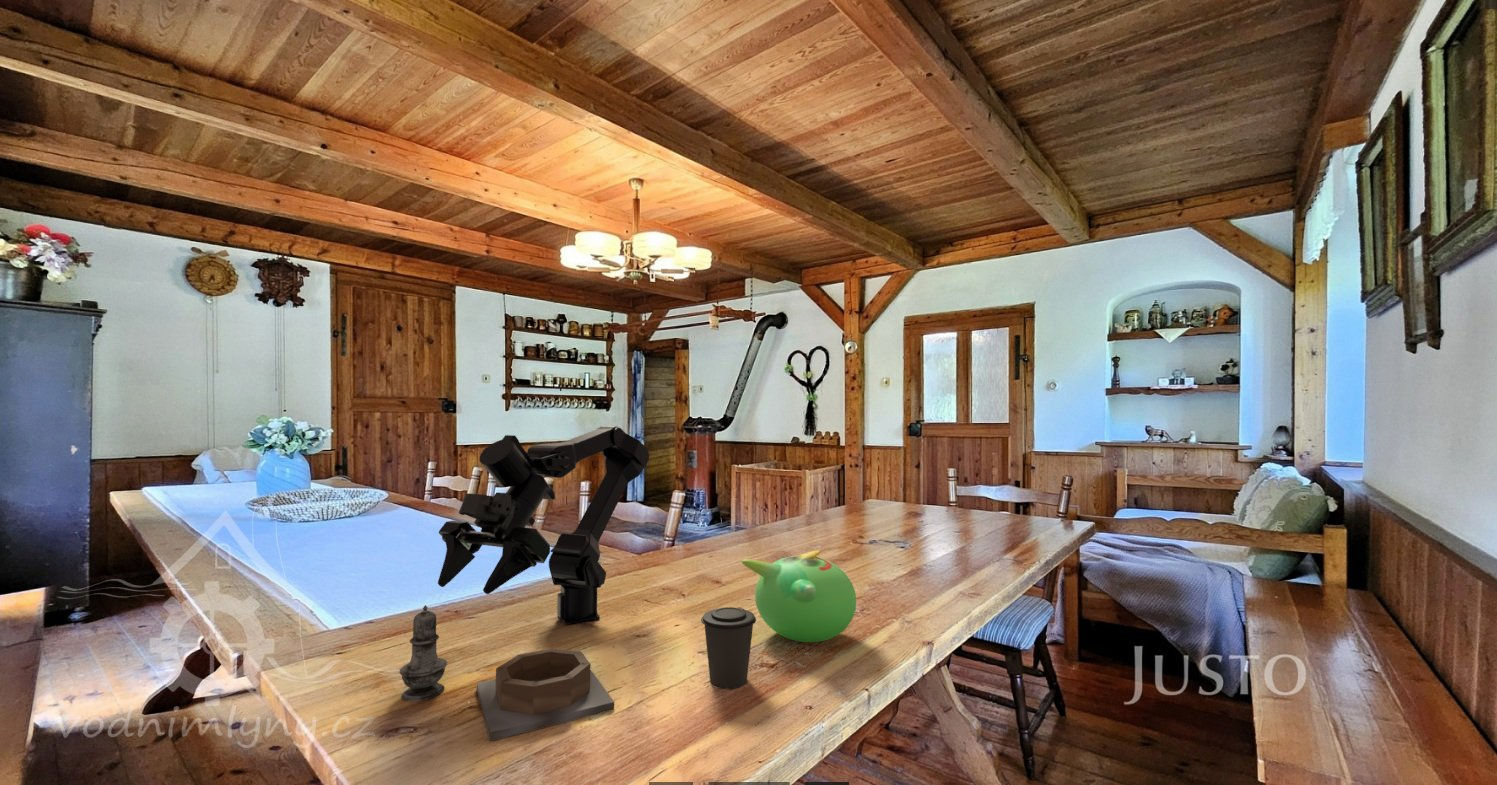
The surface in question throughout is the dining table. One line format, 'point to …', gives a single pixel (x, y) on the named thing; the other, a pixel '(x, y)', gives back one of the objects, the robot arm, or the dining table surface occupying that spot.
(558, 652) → the socket
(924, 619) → the dining table surface
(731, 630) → the coffee cup
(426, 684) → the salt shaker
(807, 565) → the round green monster
